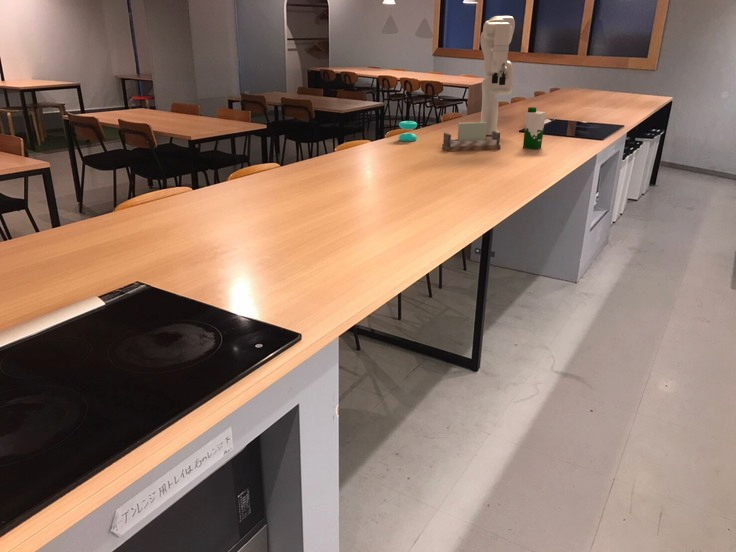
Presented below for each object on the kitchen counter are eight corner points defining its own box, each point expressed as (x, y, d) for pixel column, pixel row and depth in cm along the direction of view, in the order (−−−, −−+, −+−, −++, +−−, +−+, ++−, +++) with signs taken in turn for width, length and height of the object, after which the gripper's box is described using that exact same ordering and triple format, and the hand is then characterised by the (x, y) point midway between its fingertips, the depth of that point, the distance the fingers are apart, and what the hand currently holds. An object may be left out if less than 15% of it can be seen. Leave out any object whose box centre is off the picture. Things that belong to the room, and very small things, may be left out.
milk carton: (527, 145, 308) (531, 106, 300) (543, 147, 303) (548, 107, 295) (520, 148, 301) (524, 108, 293) (537, 150, 296) (541, 109, 288)
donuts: (398, 123, 314) (399, 120, 324) (398, 141, 318) (399, 138, 328) (417, 123, 314) (417, 120, 323) (416, 142, 317) (416, 138, 327)
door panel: (459, 145, 297) (460, 123, 292) (457, 144, 299) (458, 122, 295) (485, 144, 299) (486, 122, 295) (483, 143, 302) (484, 121, 297)
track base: (448, 151, 293) (448, 135, 290) (442, 147, 302) (442, 132, 299) (500, 149, 298) (501, 133, 295) (492, 145, 307) (494, 130, 304)
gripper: (487, 48, 304) (485, 82, 311) (500, 49, 289) (497, 85, 295) (501, 48, 306) (498, 82, 312) (515, 49, 290) (511, 85, 297)
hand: (498, 84), depth 304 cm, fingers open, 9 cm apart
